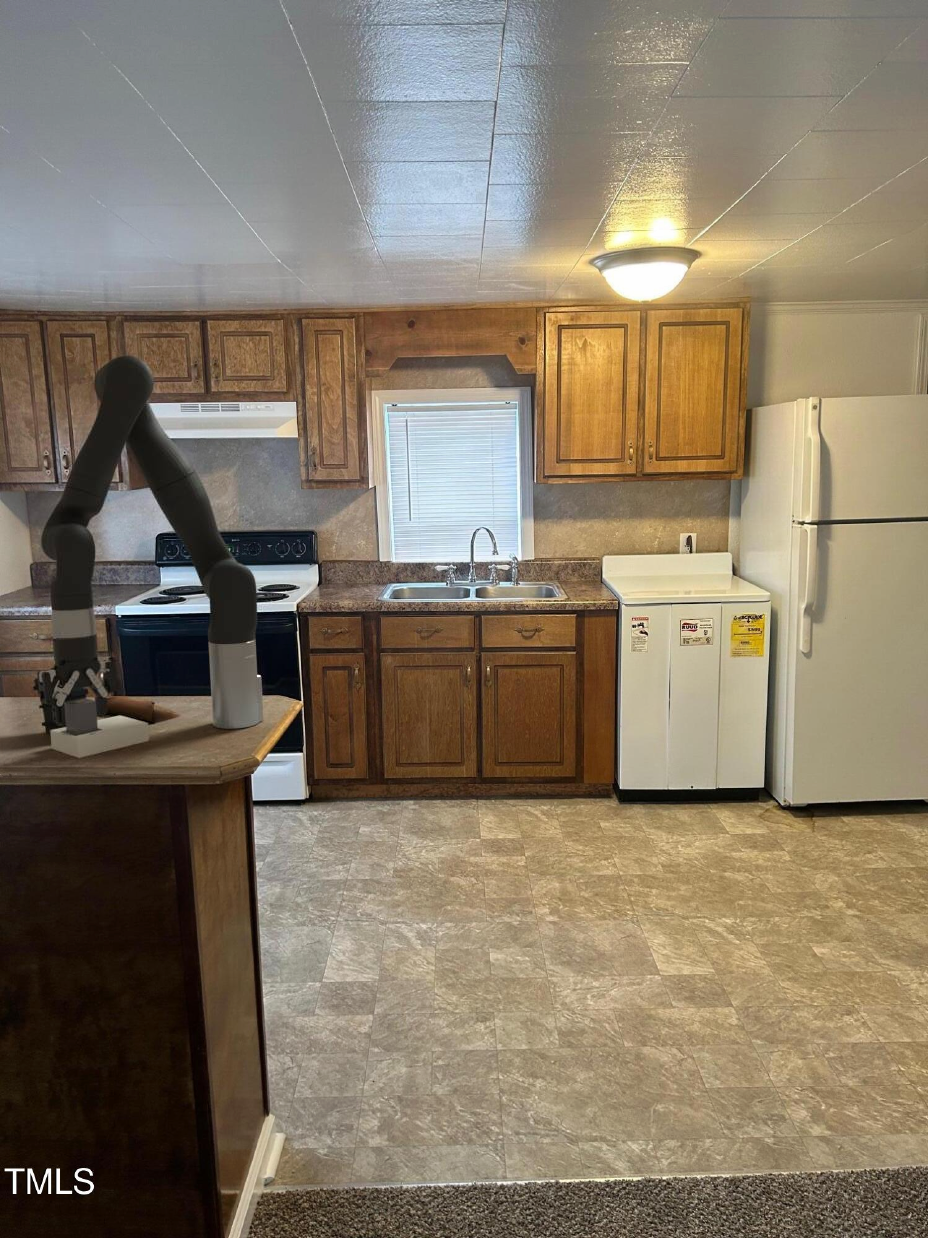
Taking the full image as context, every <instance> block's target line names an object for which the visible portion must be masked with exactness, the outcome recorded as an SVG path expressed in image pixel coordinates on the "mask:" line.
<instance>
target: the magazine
mask: <svg viewBox="0 0 928 1238" xmlns="http://www.w3.org/2000/svg"><path fill="white" fill-rule="evenodd" d="M53 669H54V666H53V667H51V668H50V669H48V670H47V671H49V670H53ZM58 681H59V680H58V679H57V678H56V677H55V676H54V677H53V681H52V682H51V687H52V696H53V694H54V689H55V687H56V685H57V683H58ZM33 683H34V686H32V688H33V689H32V690H33V691H37V693H38V695H39V687H38V678H37V677H36V678H34V680H33ZM88 694H89V689H88V688H85V687H80V688H77V689H71V691H70V693H69V695H67V696H66V698H65V700H64V702H68V701H73V700H78V699H84V698H86V699H88V698H87V695H88ZM40 703H41V702H40ZM63 706H64V708H65V705H64V703H63ZM38 709H39V710H40V709H42V712H43V719H44V721H43V722H41V726H42V727H44V728H45V733H46V734H50V735H51V733H50V730H54V729H59V728H64V727H66V725H65V726H58V725H57V724H56V723H54V721H53V712H52V706H51V705H48V704H45V703H41V704H39V705H38ZM65 721H66V718H65Z"/></svg>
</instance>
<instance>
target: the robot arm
mask: <svg viewBox="0 0 928 1238" xmlns="http://www.w3.org/2000/svg"><path fill="white" fill-rule="evenodd" d="M154 380H155V379H154V375H153V372H152V370H151V368H150V367H149V366H148V364H147V363H146V362H145V361H143V360H142V359H141V358H139V357H136V356H133V355H121V356H117V357H115V358H112V359H111V360H109V361H108V362H107V363H105V364H104V365H103V366H102V367H100V368H99V369H98V371H96V373H95V375H94V380H93V389H94V392H95V395H96V397H97V399H98V400H99V402H100V404H99V409H98V411H97V415H96V417H95V419H94V423H93V424H92V427H91V429H90V431H89V433H88V435H87V437H86V439H85V441H84V443H83V445H82V447H81V448H80V450H79V452H78V454H77V456H76V458H75V460H74V463H73V465H72V467H71V470H70V472H69V475H68V478H67V479H66V483H65V487H64V489H63V493H62V495H61V498H60V499H59V501H58V503H57V504H56V506H55V507H54V509H53V511H52V512H51V515H50V516H49V518H48V520H47V521H46V523H45V526H44V527H43V531H42V534H41V538H40V539H41V540H40V542H41V543H40V545H41V549H42V551H43V553H44V554H45V556H47V558H49V559H51V560H52V561H55V562H56V565H55V566H56V568H55V577H54V578H53V579H52V580H51V582H50V585H49V595H50V607H51V616H50V617H51V619H50V625H51V637H52V638H51V639H52V640H51V641H52V651H53V659H54V666H53V667H54V669H53V670H50V669H48V670H49V671H48V670H38V671H37V673H36V675H37V676H36V678H38V687H39V694H38V697H39V702H40V703H45V704H48V705H51V706H52V712H53V721H54V723H56V724H57V725H58V726H65V725H66V721H65V708H64V706H63V703H64V700H65V698H66V696H67V695H69V693H70V691H71V689H77V688H80V687H84V688H88V687H89V689H91V691H92V692H93V693H94V695H95V697H94V701H96V711H97V718H102V719H103V718H104V717H105V718H106V714H108V713H107V711H108V710H107V698H108V696H109V695H110V694H112V693H115V692H116V691H117V674H116V672H117V670H116V662H115V661H113V660H108V659H104V660H103V661H99V658H98V657H99V646H98V633H97V632H98V631H97V630H98V628H97V627H98V626H97V620H96V615H95V614H96V613H95V609H94V608H95V607H94V597H93V587H92V580H93V577H94V571H95V563H96V543H95V539H94V537H93V534H92V533H91V532H90V530H89V529H88V526H89V523H90V521H91V520H92V519H93V518H94V517H96V516H97V515H98V514H100V512H101V511H102V509H103V507H104V504H105V502H106V498H107V496H108V493H109V490H110V487H111V484H112V482H113V478H114V476H115V473H116V470H117V467H118V464H119V461H120V458H121V456H122V453H123V451H124V447H125V445H126V443H127V446H128V448H129V450H130V452H131V454H132V456H133V459H134V460H135V462H136V464H137V466H138V468H139V470H140V472H141V474H142V476H143V477H144V479H145V481H146V484H147V485H148V487H149V489H150V491H151V494H152V495H153V497H154V498H155V501H156V502H157V505H158V507H159V508H160V510H161V511H162V513H163V514H164V517H165V518H166V520H167V521H168V523H169V525H170V526H171V528H172V530H173V531H174V533H175V534H176V536H177V537H178V538H179V540H180V541H181V542H182V544H183V546H184V548H185V549H186V551H187V552H188V556H189V558H190V559H191V562H192V565H193V566H194V569H195V572H196V573H197V576H198V579H199V581H200V585H201V588H202V589H203V592H204V593H205V595H206V596H207V598H208V599H209V614H210V616H209V618H210V619H209V627H208V630H207V639H208V640H207V641H208V655H209V675H210V676H209V677H210V691H211V694H210V695H211V709H212V712H211V713H212V725H213V727H215V728H217V729H218V728H219V729H229V730H230V729H232V730H233V729H243V728H248V727H253V726H256V725H257V724H259V723H260V722H264V706H263V705H264V703H263V701H264V699H263V685H262V684H263V682H262V681H263V680H262V676H261V675H260V674H258V666H257V664H258V663H257V662H258V661H257V645H256V629H257V625H258V600H257V599H258V598H257V583H256V577H255V576H254V573H253V572H252V571H251V570H250V568H248V566H246V565H244V564H242V563H241V562H238V561H237V560H236V558H235V556H234V555H233V554H232V553H231V551H230V549H229V547H228V546H227V544H226V543H225V540H224V539H223V537H222V535H221V533H220V530H219V528H218V526H217V523H216V518H215V515H214V511H213V507H212V504H211V501H210V499H209V495H208V492H207V491H206V489H205V487H204V485H203V483H202V481H201V479H200V476H199V475H198V473H197V471H196V469H195V467H194V465H193V464H192V462H191V461H190V460H189V459H188V457H187V456H186V454H185V453H184V452H183V451H182V450H181V449H180V448H179V446H178V445H177V444H176V443H175V442H174V441H173V440H172V439H171V437H169V435H168V434H167V433H166V432H165V430H164V429H163V428H162V426H161V425H160V423H159V421H158V419H157V417H156V416H155V413H154V411H153V409H152V407H151V405H150V401H149V399H150V397H151V396H152V393H153V391H154V388H155V381H154ZM100 670H101V673H102V679H103V683H102V682H101V680H100V679H99V678H98V673H99V672H100ZM54 676H55V677H56V678H57V679H58V680H59V681H58V683H57V685H56V687H55V689H54V694H53V696H52V687H51V682H52V681H53V677H54Z"/></svg>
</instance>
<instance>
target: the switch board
mask: <svg viewBox="0 0 928 1238" xmlns="http://www.w3.org/2000/svg"><path fill="white" fill-rule="evenodd" d="M97 725H98V731H95V732H91V733H86V734H82V735H77V736H74V735H70V734H67V731H66V727H64V728H59V729H54V730H50V733H51V734H50V743H51V749H52V750H54V751H58V752H59V753H60V752H61V753H63V754H66V755H69V756H72V757H75V758H78V759H79V758H80V759H81V758H83V757H88V756H93V755H97V754H100V753H105V752H108V751H112V750H117V749H120V748H124V747H125V748H126V747H129V746H134V745H137V744H141V743H146V742H149V741H150V736H149V732H150V731H149V723H148V722H145V721H142V720H140V719H139V720H138V719H136V718H131V717H129V716H124V715H120V714H118V715H116V716H115V715H114V716H110V717H107V718H106V717H105V718H102V719H97Z"/></svg>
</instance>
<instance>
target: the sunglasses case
mask: <svg viewBox="0 0 928 1238" xmlns="http://www.w3.org/2000/svg"><path fill="white" fill-rule="evenodd" d="M107 710H108V711H107V713H106V714H114V715H120V716H124V717H130V718H131V717H132V718H133V719H137V720H138V719H139V720H140V719H141V720H144V721H148V722H152V723H153V724H154V725H155V724H159V723H162V722H166V721H170V720H173V719H177V718H179V717H182V715H181V714H180V713H178V712H177V711H174V710H172V709H169V708H167V707H164V706H160V705H156V703H155V701H152V700H148V699H140V698H136V697H131V696H130V697H129V696H123V695H120V696H109V697H108V696H107Z"/></svg>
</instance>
